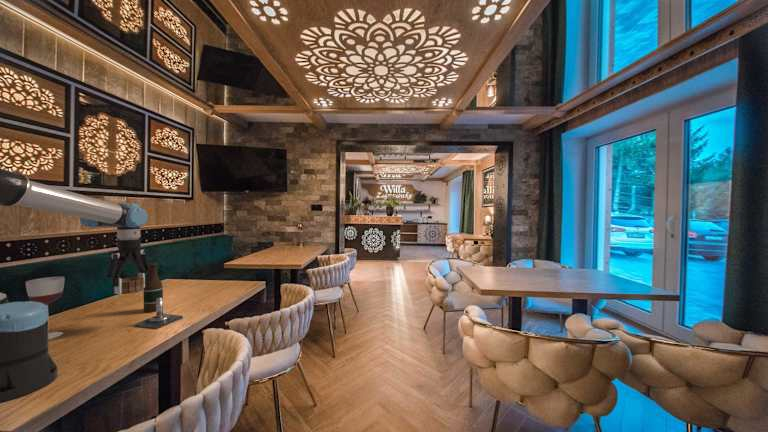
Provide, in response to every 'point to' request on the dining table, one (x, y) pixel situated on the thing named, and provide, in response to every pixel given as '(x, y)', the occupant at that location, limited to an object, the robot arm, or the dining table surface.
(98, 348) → the dining table surface
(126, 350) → the dining table surface
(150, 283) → the beer bottle
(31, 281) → the wineglass
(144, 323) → the post
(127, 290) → the ring
